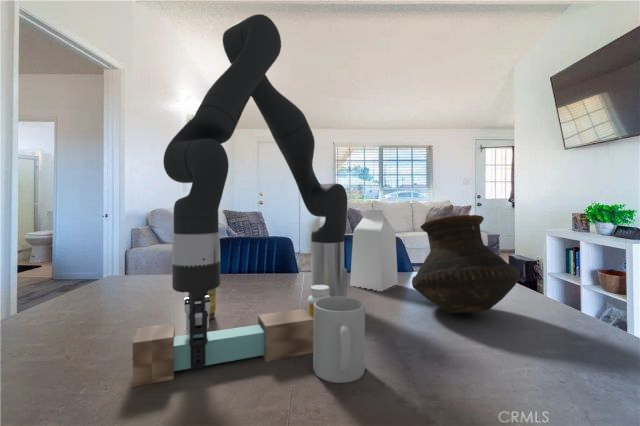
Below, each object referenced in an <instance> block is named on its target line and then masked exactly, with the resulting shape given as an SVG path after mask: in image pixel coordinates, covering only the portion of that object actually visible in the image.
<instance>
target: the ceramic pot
mask: <svg viewBox="0 0 640 426" xmlns="http://www.w3.org/2000/svg"><path fill="white" fill-rule="evenodd" d="M484 219H485V217H484V216H482V215H479V214H478V215H477V214H473V215H472V214H471V215H470V214H462V215H461V214H459V215H450V216H445V217H443V216H442V217H438V218H434V219H431V220H429V221H426V222H424V223H423V224H421V226H420V229H421V230H422V231H424V232H425V233H426V235H427V239H428V245H429V253H428V254H427V256H426V258H425V259H424V262H423V264H421V265H420V266H419V269H418V270H417V273H416V274H415V275H414V276H413V277H412V280H411V283H412V284H411V285H412V289H415V291H416V292H417V293H419V294H420V295H421V296H423V297H424V298H425V299H427V300H428V301H429V302H431V303H432V304H433V305H436V306H437V307H439V308H440V309H442V310H443V311H445V312H446V313H448V314H460V313H475V312H477V313H478V312H485V311H490V310H491V309H492V308H493V307H494V306H496V305H497V304H498V303H499V302H501V301H502V300H503V299H504V298H505V297H506V296H507V294H509V293H510V291H511V290H512V289H513V288H514V287H515V286H516V285H517V283H518V282H519V280H520V279H521V277H520V271H519V270H518V268H516V267H515V266H514V265H511V264H509V263H508V262H506V260H505V259H504V258H502V256H500V255H499V254H497V253H495V252H494V251H493V250H492V249H491V248H489V247H488V246H487V245H485V243H484V241H483V237H482V233H481V232H482V231H481V224H482V222H483V221H484Z"/></svg>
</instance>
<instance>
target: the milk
mask: <svg viewBox="0 0 640 426" xmlns="http://www.w3.org/2000/svg"><path fill="white" fill-rule="evenodd" d="M353 230H354V231H352V232H353V233H352V246H351V247H352V248H351V263H350V265H351V267H350V281H349V283H350V284H349V286H350V287H354V286H355V287H354V288H359V287H361V288H360V289H364V288H367V289H366V290H369V289H373V290H372V291H375V290H377V291H376V292H380V291H382V292H384V291H383V290H385V289H387V288H389V287H392V286H394V285H396V284H398V285H399V283H398V282H399V281H398V280H399V279H398V261H397V259H398V258H397V240H396V239H397V238H396V237H397V236H396V230H395V227H393V226H392V224H391V223H390V221H389V219H387V217H386V213H385V212H384V209H365V212H364V214H363V217H362V219H361V220H360V222H358V224H357V225H356V226H355V228H354V229H353ZM394 287H395V286H394ZM392 288H393V287H392ZM387 290H388V289H387ZM385 291H386V290H385Z"/></svg>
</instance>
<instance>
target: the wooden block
mask: <svg viewBox="0 0 640 426" xmlns="http://www.w3.org/2000/svg"><path fill="white" fill-rule="evenodd" d="M260 324H262V325H263V326H264V328H265V355H262V357H263V359H264V362H265V363H267V362H272V361H278V360H284V359H288V358H294V357H298V356H304V355H308V354H309V355H310V354H313V353H314V319H313V318H312V317H311V316H310V315H309V314H308V313H307V311H305V310H304V309H303V308H299V309H292V310H285V311H277V312H268V313H262V314H258V315H257V325H260Z"/></svg>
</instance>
